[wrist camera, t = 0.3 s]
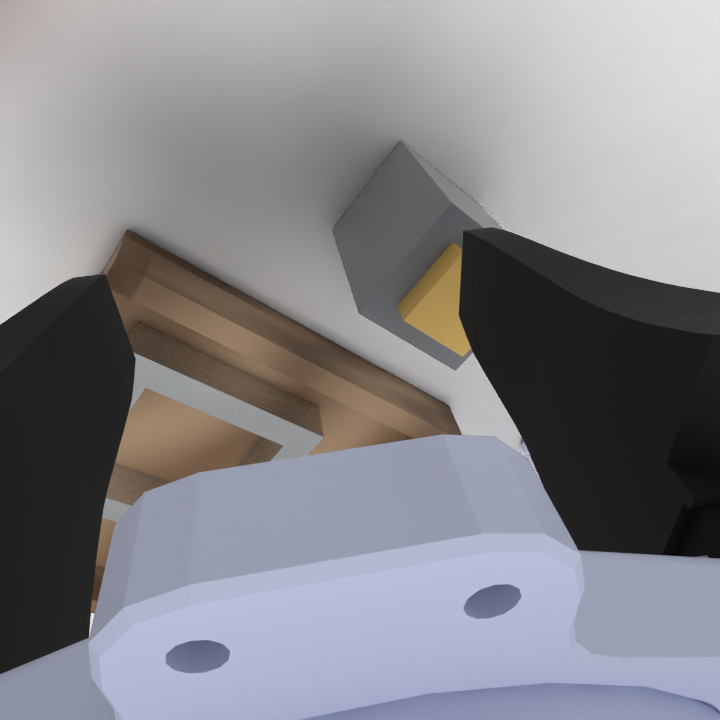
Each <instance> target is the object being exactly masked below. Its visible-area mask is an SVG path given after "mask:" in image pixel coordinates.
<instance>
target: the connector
mask: <svg viewBox="0 0 720 720" xmlns="http://www.w3.org/2000/svg"><path fill="white" fill-rule="evenodd" d="M489 227H493V228H498V229H502V228H501V227H500V226H499V225H498V224H497V223H496V222H495V221H494V220H493V219H492V217H491V216H490V215H489V214H488V213H487V212H486V211H485V210H484V209H483V208H482V207H481V205H480V204H479V203H477V202H476V201H475V200H474V199H473V198H471V197H470V196H469V195H468V194H466V193H465V192H464V191H463V190H461V189H460V188H459V187H458V186H457V185H455V184H454V183H453V182H452V181H450V180H449V179H448V178H447V177H446V176H444V175H443V174H442V173H441V172H439V171H438V170H437V169H436V168H434V167H433V166H432V165H431V164H430V163H428V162H427V161H426V160H425V159H423V158H422V157H421V156H420V155H419V154H417V153H416V152H415V151H414V150H412V149H411V148H410V147H409V146H407V145H406V144H405V143H404V142H403V141H401V140H400V141H399V143H398V144H397V145H396V147H395V148H394V149H393V150H392V152H391V153H390V154H389V156H388V157H387V158H386V160H385V161H384V162H383V164H382V165H381V166H380V168H379V169H378V170H377V172H376V173H375V174H374V176H373V177H372V178H371V180H370V181H369V182H368V184H367V185H366V186H365V187H364V189H363V190H362V191H361V193H360V194H359V195H358V197H357V198H356V199H355V201H354V202H353V203H352V205H351V206H350V207H349V209H348V210H347V211H346V213H345V214H344V215H343V217H342V218H341V219H340V221H339V222H338V223H337V224H336V226H335V227H334V228H333V230H332V232H333V235H334V238H335V241H336V244H337V247H338V250H339V253H340V256H341V259H342V262H343V265H344V269H345V272H346V275H347V278H348V281H349V284H350V287H351V290H352V293H353V296H354V299H355V302H356V306H357V309H358V312H359V314H361V315H363V316H364V317H366V318H368V319H369V320H371V321H373V322H374V323H376V324H378V325H379V326H381V327H383V328H385V329H386V330H388V331H390V332H391V333H393V334H395V335H396V336H398V337H400V338H401V339H403V340H405V341H406V342H408V343H410V344H411V345H413V346H415V347H417V348H418V349H420V350H422V351H423V352H425V353H427V354H428V355H430V356H432V357H433V358H435V359H437V360H438V361H440V362H442V363H443V364H445V365H447V366H449V367H450V368H452V369H454V370H456V369H457V368H458V367H459V366H460V365H461V364H462V363H463V362H464V361H465V360H466V359H467V358H468V357H469V356H470V355H471V354H472V353H473V351H472V349H471V346H470V344H469V341H468V339H467V337H466V334H465V331H464V329H463V326H462V323H461V320H460V318H459V299H460V280H461V262H462V244H463V231H465V230H473V229H481V228H489ZM502 230H503V229H502Z"/></svg>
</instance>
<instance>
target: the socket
mask: <svg viewBox="0 0 720 720" xmlns="http://www.w3.org/2000/svg"><path fill="white" fill-rule="evenodd" d="M127 336H128V339H129V341H130V344H131V347H132V350H133V353H134V356H135V358H136V362H135V375H134V386H133V394H132V401H131V405H130V409H129V411H130V410H131V408H132V407H133V405H134V404H135V402H136V401H137V399H138V398H139V397H140V395H141V394H142V392H143V391H144V389H145V388H147V389H150V390H152V391H154V392H157V393H159V394H162V395H164V396H166V397H169V398H171V399H174V400H176V401H178V402H181V403H183V404H185V405H188V406H190V407H193V408H195V409H197V410H200V411H202V412H204V413H207V414H209V415H212V416H214V417H216V418H219V419H221V420H223V421H226V422H228V423H231V424H233V425H235V426H238V427H240V428H243V429H245V430H247V431H250V432H252V433H254V434H257V435H259V436H262V437H261V438H260V439H259V441H258V442H257V443H256V444H255V445H254V446H253V448H252V449H251V450H250V451H249V452H248V454H247V455H246V456H245V457H244V458H243V459H242V461H241V462H240V463H239V464H238V465H237V466H244V465H250V464H257V463H263V462H269V461H276V460H282V459H289V458H295V457H301V456H308V455H309V454H310V452H311V451H312V450H313V449H314V448H315V447H316V446H317V445H318V444H319V443H320V441H321V440H322V439H323V438H324V434H323V428H322V423H321V417H320V411H319V406H317V405H315V404H313V403H311V402H308V401H306V400H304V399H302V398H300V397H298V396H296V395H294V394H292V393H290V392H287V391H285V390H283V389H281V388H279V387H277V386H275V385H273V384H271V383H269V382H266V381H264V380H262V379H260V378H258V377H256V376H254V375H252V374H250V373H247V372H245V371H243V370H241V369H239V368H237V367H235V366H233V365H231V364H229V363H226V362H224V361H222V360H220V359H218V358H216V357H214V356H212V355H210V354H208V353H205V352H203V351H201V350H199V349H197V348H195V347H193V346H191V345H189V344H186V343H184V342H182V341H180V340H178V339H176V338H174V337H172V336H170V335H168V334H165V333H163V332H161V331H159V330H157V329H155V328H153V327H151V326H149V325H147V324H144V323H142V322H140V321H138V320H137V321H136V322H135V324H134V326H133V327H132V329H131V330H130V332H129V333H128V335H127ZM168 483H171V482H168V481H165V480H162V479H159V478H156V477H154V476H151V475H148V474H145V473H142V472H139V471H136V470H133V469H130V468H128V467H125V466H122V465H119V464H116V463H115V464H114V468H113V472H112V475H111V479H110V483H109V486H108V490H107V495H106V499H105V504H104V509H103V515H102V518H105V519H108V520H111V521H115V522H118V521H119V520H120V519H121V518H122V517H123V516H124V515H125V513H126V512H127V511H128V510H129V509H130V508H131V507H132V506H133V505H134V503H135V502H136V501H137V500H138V499H139V498H140V497H141V496H142V494H143V493H144V492H146V491H149V490H152V489H155V488H157V487H160V486H163V485H166V484H168Z"/></svg>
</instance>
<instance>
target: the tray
mask: <svg viewBox="0 0 720 720" xmlns="http://www.w3.org/2000/svg"><path fill="white" fill-rule="evenodd" d="M102 274H106V277H107V280H108V282H109V285H110V288H111V291H112V294H113V296H114V299H115V302H116V305H117V308H118V311H119V313H120V316H121V319H122V322H123V325H124V327H125V330H126V333H127V335H128V333H129V332H130V330H131V329H132V327H133V326H134V324H135V322H136V321H137V320H138V321H140V322H142V323H144V324H147V325H149V326H151V327H153V328H155V329H157V330H159V331H161V332H163V333H165V334H168V335H170V336H172V337H174V338H176V339H178V340H180V341H182V342H184V343H186V344H189V345H191V346H193V347H195V348H197V349H199V350H201V351H203V352H205V353H208V354H210V355H212V356H214V357H216V358H218V359H220V360H222V361H224V362H226V363H229V364H231V365H233V366H235V367H237V368H239V369H241V370H243V371H245V372H247V373H250V374H252V375H254V376H256V377H258V378H260V379H262V380H264V381H266V382H269V383H271V384H273V385H275V386H277V387H279V388H281V389H283V390H285V391H287V392H290V393H292V394H294V395H296V396H298V397H300V398H302V399H304V400H306V401H308V402H311V403H313V404H315V405H317V406H319V411H320V417H321V423H322V428H323V434H324V438H323V439H322V440H321V441H320V443H319V444H318V445H317V446H316V447H315V448H314V449H313V450H312V451H311V452H310V454H309V455H314V454H321V453H327V452H333V451H340V450H346V449H353V448H359V447H365V446H372V445H378V444H385V443H391V442H397V441H404V440H410V439H417V438H423V437H429V436H436V435H442V434H445V435H462V434H461V432H460V429H459V427H458V425H457V423H456V420H455V418H454V416H453V414H452V412H451V409H450V407H449V406H448V405H446V404H444V403H443V402H441V401H439V400H437V399H435V398H434V397H432V396H430V395H428V394H426V393H424V392H423V391H421V390H419V389H417V388H415V387H413V386H412V385H410V384H408V383H406V382H404V381H403V380H401V379H399V378H397V377H395V376H393V375H392V374H390V373H388V372H386V371H384V370H382V369H381V368H379V367H377V366H375V365H373V364H372V363H370V362H368V361H366V360H364V359H362V358H361V357H359V356H357V355H355V354H353V353H352V352H350V351H348V350H346V349H344V348H342V347H341V346H339V345H337V344H335V343H333V342H331V341H330V340H328V339H326V338H324V337H322V336H321V335H319V334H317V333H315V332H313V331H311V330H310V329H308V328H306V327H304V326H302V325H300V324H299V323H297V322H295V321H293V320H291V319H290V318H288V317H286V316H284V315H282V314H280V313H279V312H277V311H275V310H273V309H271V308H269V307H268V306H266V305H264V304H262V303H260V302H259V301H257V300H255V299H253V298H251V297H249V296H248V295H246V294H244V293H242V292H240V291H238V290H237V289H235V288H233V287H231V286H229V285H228V284H226V283H224V282H222V281H220V280H218V279H217V278H215V277H213V276H211V275H209V274H207V273H206V272H204V271H202V270H200V269H198V268H197V267H195V266H193V265H191V264H189V263H187V262H186V261H184V260H182V259H180V258H178V257H177V256H175V255H173V254H171V253H169V252H167V251H166V250H164V249H162V248H160V247H158V246H156V245H155V244H153V243H151V242H149V241H147V240H146V239H144V238H142V237H140V236H138V235H136V234H135V233H133V232H131V231H129V230H127V231H126V232H125V234H124V236H123V238H122V239H121V241H120V243H119V244H118V246H117V248H116V250H115V251H114V253H113V255H112V256H111V258H110V260H109V262H108V263H107V265H106V267H105V268H104V270H103V272H102ZM261 437H262V436H259V435H257V434H254V433H252V432H250V431H247V430H245V429H243V428H240V427H238V426H235V425H233V424H231V423H228V422H226V421H223V420H221V419H219V418H216V417H214V416H212V415H209V414H207V413H204V412H202V411H200V410H197V409H195V408H193V407H190V406H188V405H185V404H183V403H181V402H178V401H176V400H174V399H171V398H169V397H166V396H164V395H162V394H159V393H157V392H154V391H152V390H150V389H147V388H145V389H144V391H143V392H142V394H141V395H140V397H139V398H138V399H137V401H136V402H135V404H134V405H133V407H132V408H131V410H130V411H129V413H128V417H127V420H126V424H125V428H124V432H123V435H122V439H121V443H120V446H119V450H118V454H117V457H116V461H115V463H116V464H119V465H122V466H125V467H128V468H130V469H133V470H136V471H139V472H142V473H145V474H148V475H151V476H154V477H156V478H159V479H162V480H165V481H168V482H174V481H177V480H180V479H182V478H185V477H188V476H191V475H193V474H196V473H199V472H205V471H212V470H218V469H225V468H231V467H237V465H238V464H239V463H240V462H241V461H242V459H243V458H244V457H245V456H246V455H247V454H248V452H249V451H250V450H251V449H252V448H253V446H254V445H255V444H256V443H257V442H258V441H259V439H260V438H261ZM116 523H117V522H115V521H111V520H108V519H105V518H102V522H101V529H100V537H99V544H98V551H97V559H96V568H95V577H94V586H93V594H92V604H91V613H95V610H96V606H97V602H98V597H99V593H100V588H101V584H102V579H103V575H104V571H105V566H106V562H107V557H108V553H109V549H110V544H111V540H112V535H113V531H114V526H115V525H116Z"/></svg>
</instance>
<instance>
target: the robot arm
mask: <svg viewBox="0 0 720 720" xmlns="http://www.w3.org/2000/svg"><path fill="white" fill-rule="evenodd" d="M459 318H460V320H461V323H462V326H463V329H464V331H465V334H466V337H467V339H468V341H469V344H470V346H471V349H472V351H473V353H474V355H475V357H476V358H477V360H478V362H479V364H480V365H481V367H482V369H483V371H484V372H485V374H486V376H487V377H488V379H489V381H490V383H491V384H492V386H493V388H494V389H495V391H496V393H497V394H498V396H499V398H500V399H501V401H502V403H503V405H504V406H505V408H506V410H507V411H508V413H509V415H510V416H511V418H512V420H513V421H514V423H515V425H516V427H517V429H518V431H519V433H520V435H521V436H522V438H523V440H524V442H523V444H522V448H523V450H524V452H525V453H526V454H528V455H530V456H531V458H532V461H533V463H534V465H535V468H536V470H537V472H538V474H539V477H540V479H541V482H542V484H543V485H542V484H541V482H540V480H539V478H538V476H537V474H536V473H535V471H534V469H533V467H532V465H531V464H530V462H529V460H528V458H526V457H525V456H523V455H522V454H520V453H519V452H517V451H516V450H514V449H513V448H511V447H510V446H508V445H506V444H505V443H503V442H502V441H500V440H499V439H497V438H496V437H489V436H467V435H445V434H442V435H436V436H429V437H423V438H417V439H410V440H404V441H397V442H391V443H385V444H378V445H372V446H365V447H359V448H353V449H346V450H340V451H333V452H327V453H321V454H314V455H308V456H301V457H295V458H289V459H282V460H276V461H269V462H263V463H257V464H250V465H244V466H237V467H231V468H225V469H218V470H212V471H205V472H199V473H196V474H193V475H191V476H188V477H185V478H182V479H180V480H177V481H174V482H171V483H168V484H166V485H163V486H160V487H157V488H155V489H152V490H149V491H146V492H144V493H143V494H142V496H141V497H140V498H139V499H138V500H137V501H136V502H135V503H134V505H133V506H132V507H131V508H130V509H129V510H128V511H127V512H126V513H125V515H124V516H123V517H122V518H121V519H120V520H119V521H118V522H117V523H116V525H115V526H114V531H113V535H112V540H111V544H110V549H109V553H108V557H107V562H106V566H105V571H104V575H103V579H102V584H101V588H100V593H99V597H98V602H97V606H96V610H95V615H94V619H93V624H92V628H91V633H90V637H89V628H90V616H91V604H92V594H93V586H94V577H95V568H96V559H97V551H98V544H99V537H100V529H101V522H102V515H103V509H104V504H105V499H106V495H107V490H108V486H109V483H110V479H111V475H112V472H113V468H114V464H115V461H116V457H117V454H118V450H119V446H120V443H121V439H122V435H123V432H124V428H125V424H126V420H127V417H128V413H129V409H130V405H131V401H132V394H133V386H134V375H135V362H136V358H135V356H134V353H133V350H132V347H131V344H130V341H129V339H128V336H127V333H126V330H125V327H124V325H123V322H122V319H121V316H120V313H119V311H118V308H117V305H116V302H115V299H114V296H113V294H112V291H111V288H110V285H109V282H108V280H107V277H106V274H101V275H93V276H85V277H77V278H72V279H70V280H68V281H66V282H64V283H62V284H60V285H59V286H57V287H55V288H54V289H52V290H51V291H49V292H48V293H46V294H45V295H43V296H42V297H40V298H39V299H37V300H36V301H34V302H33V303H31V304H30V305H28V306H27V307H26V308H24V309H23V310H21V311H20V312H18V313H17V314H15V315H14V316H12V317H11V318H9V319H8V320H7V321H5V322H4V323H2V324H1V325H0V720H720V293H716V292H710V291H704V290H698V289H692V288H686V287H680V286H675V285H670V284H665V283H660V282H656V281H652V280H648V279H644V278H640V277H636V276H632V275H628V274H624V273H621V272H617V271H614V270H611V269H608V268H605V267H602V266H599V265H596V264H593V263H590V262H587V261H584V260H581V259H578V258H575V257H573V256H570V255H567V254H565V253H562V252H559V251H557V250H554V249H552V248H549V247H547V246H544V245H542V244H539V243H537V242H534V241H532V240H529V239H527V238H524V237H522V236H519V235H516V234H514V233H511V232H508V231H505V230H502V229H498V228H493V227H489V228H481V229H473V230H465V231H463V244H462V262H461V280H460V299H459Z"/></svg>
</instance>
